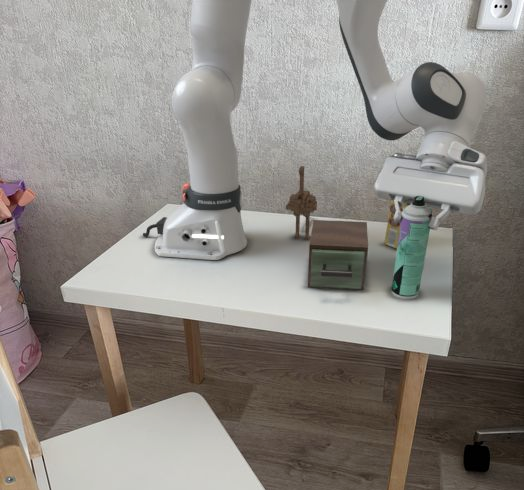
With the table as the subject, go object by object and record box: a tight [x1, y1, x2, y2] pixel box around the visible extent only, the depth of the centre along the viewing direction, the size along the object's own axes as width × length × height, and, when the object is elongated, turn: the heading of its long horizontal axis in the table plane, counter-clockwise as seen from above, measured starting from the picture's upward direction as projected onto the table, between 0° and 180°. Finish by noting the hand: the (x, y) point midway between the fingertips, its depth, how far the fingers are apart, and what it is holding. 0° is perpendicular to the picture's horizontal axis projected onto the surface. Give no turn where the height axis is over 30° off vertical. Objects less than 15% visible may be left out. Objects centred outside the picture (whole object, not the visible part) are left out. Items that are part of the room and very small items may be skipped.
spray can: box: [391, 196, 433, 301], centre depth 103 cm, size 6×6×20 cm
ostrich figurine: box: [285, 165, 318, 241], centre depth 132 cm, size 17×7×18 cm, turn 163°
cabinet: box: [307, 219, 369, 291], centre depth 114 cm, size 14×12×10 cm
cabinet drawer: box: [310, 249, 365, 289], centre depth 110 cm, size 17×10×8 cm, turn 172°
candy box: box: [384, 200, 411, 250], centre depth 126 cm, size 9×4×15 cm, turn 134°
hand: (414, 224), depth 100 cm, fingers closed on spray can, 5 cm apart
